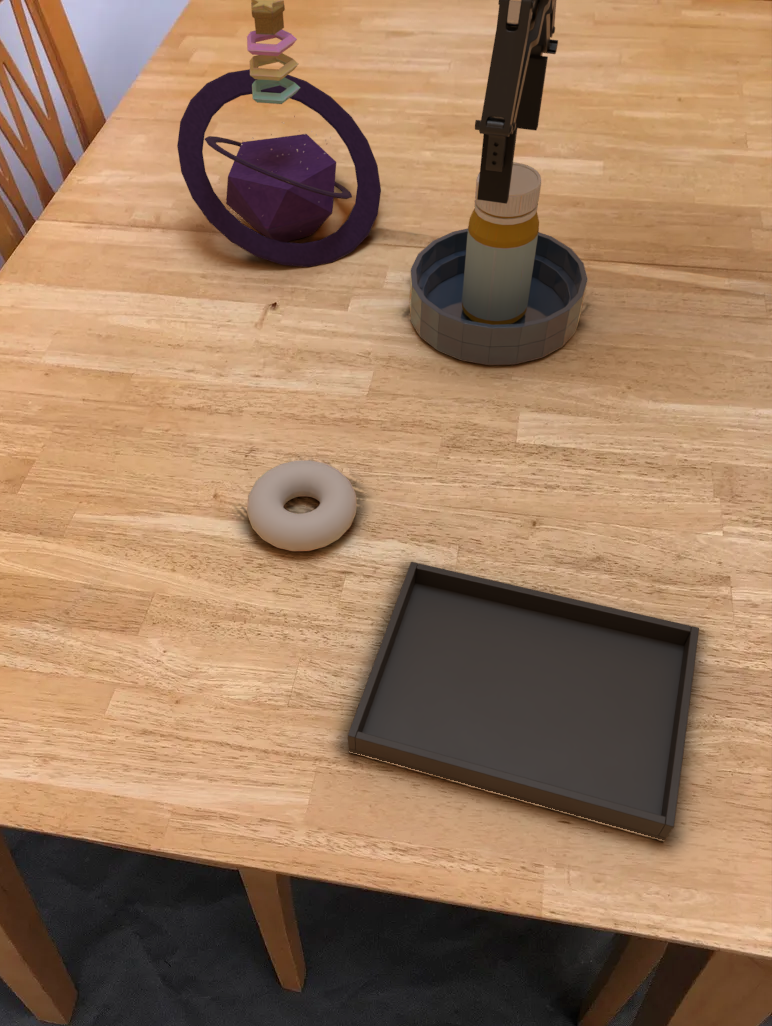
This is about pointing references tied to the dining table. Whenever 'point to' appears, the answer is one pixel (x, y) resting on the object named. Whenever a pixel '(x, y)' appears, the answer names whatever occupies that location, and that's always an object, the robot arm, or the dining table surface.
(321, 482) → the donut
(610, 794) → the tray
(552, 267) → the bowl
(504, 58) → the robot arm
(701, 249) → the dining table surface
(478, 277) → the bottle
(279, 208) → the ringed planet model
